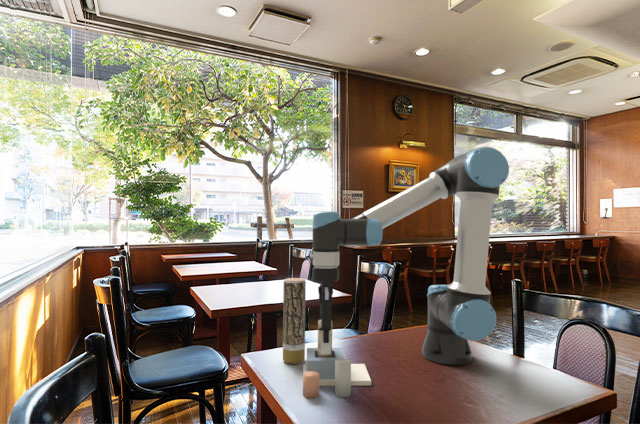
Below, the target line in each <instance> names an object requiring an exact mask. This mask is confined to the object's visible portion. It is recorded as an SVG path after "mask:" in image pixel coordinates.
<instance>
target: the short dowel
mask: <svg viewBox="0 0 640 424" xmlns="http://www.w3.org/2000/svg"><path fill="white" fill-rule="evenodd" d="M302 396H303V397H304V398H305V399H316V398H318V397H319V396H320V386H319V373H317V372H314V371H308V372H305V373H304V374H303V373H302Z"/></svg>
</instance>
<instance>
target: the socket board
mask: <svg viewBox="0 0 640 424" xmlns="http://www.w3.org/2000/svg"><path fill="white" fill-rule="evenodd" d="M341 358H344V359H345V357H344V353H343V349H342V347H332V358H318V347H307V348H306V363H303V365H302V367H303V370H302V372H303V373H302V375H303V374H304V373H305V372H308V371H314V372H317V373H319V387H320V386H321V387H324V386H325V387H327V386H328V387H331V386H332V387H333V386H334V387H335V360H337V359H341ZM352 386H353V387H356V386H358V387H359V386H361V387H362V386H372V379H371V377H370V374H369V371H368V370H367V367H366V364H365V363H351V387H352Z"/></svg>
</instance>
